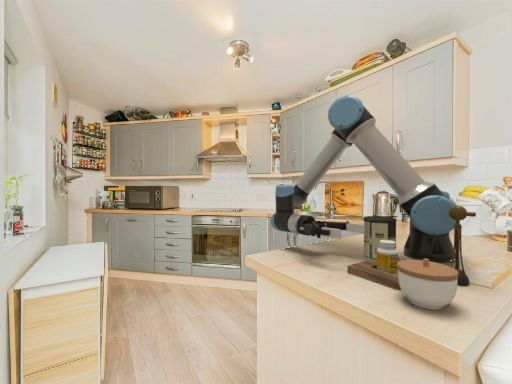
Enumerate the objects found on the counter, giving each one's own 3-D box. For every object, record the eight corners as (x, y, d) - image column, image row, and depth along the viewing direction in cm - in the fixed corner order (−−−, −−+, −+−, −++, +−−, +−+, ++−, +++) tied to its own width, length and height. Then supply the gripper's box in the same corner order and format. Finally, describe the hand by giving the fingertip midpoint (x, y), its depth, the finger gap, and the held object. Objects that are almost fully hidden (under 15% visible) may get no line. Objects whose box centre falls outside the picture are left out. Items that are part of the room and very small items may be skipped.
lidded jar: (387, 300, 53) (387, 257, 53) (409, 288, 60) (409, 250, 59) (446, 322, 45) (447, 271, 44) (465, 305, 51) (466, 260, 51)
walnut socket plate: (377, 263, 79) (377, 257, 79) (430, 278, 66) (430, 271, 66) (347, 272, 71) (347, 265, 71) (400, 290, 58) (400, 282, 58)
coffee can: (386, 254, 90) (386, 216, 90) (402, 262, 80) (403, 219, 80) (358, 254, 90) (358, 216, 90) (371, 262, 80) (371, 219, 80)
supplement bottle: (382, 270, 72) (383, 238, 72) (402, 276, 68) (402, 241, 67) (372, 274, 69) (372, 240, 69) (391, 280, 65) (392, 244, 64)
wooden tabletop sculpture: (478, 285, 61) (479, 206, 60) (468, 289, 59) (469, 206, 58) (451, 278, 66) (452, 204, 66) (441, 280, 64) (442, 205, 64)
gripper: (323, 230, 101) (373, 238, 84) (278, 238, 86) (328, 249, 69) (323, 212, 101) (373, 216, 84) (278, 217, 86) (328, 223, 69)
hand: (353, 231), depth 76 cm, fingers open, 13 cm apart
